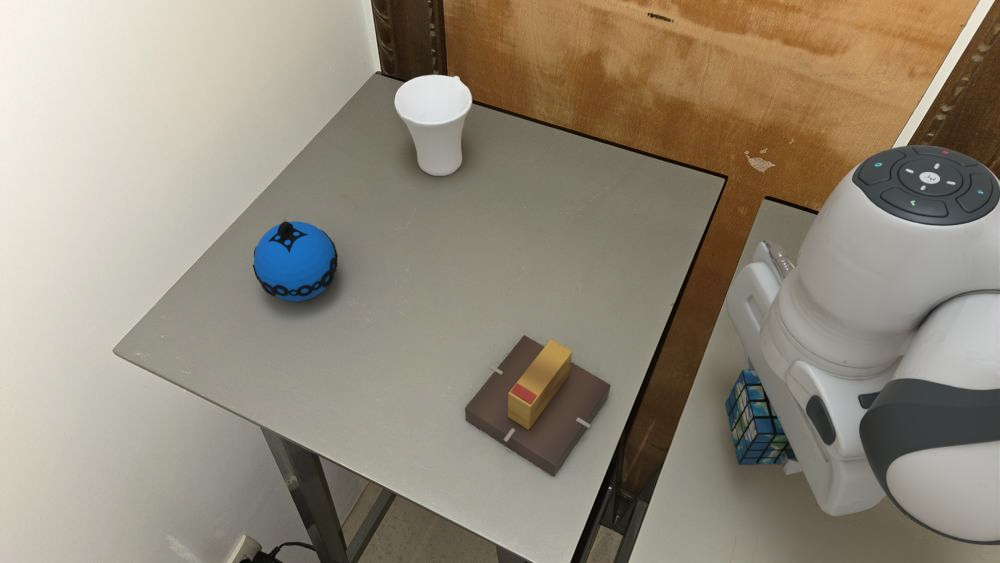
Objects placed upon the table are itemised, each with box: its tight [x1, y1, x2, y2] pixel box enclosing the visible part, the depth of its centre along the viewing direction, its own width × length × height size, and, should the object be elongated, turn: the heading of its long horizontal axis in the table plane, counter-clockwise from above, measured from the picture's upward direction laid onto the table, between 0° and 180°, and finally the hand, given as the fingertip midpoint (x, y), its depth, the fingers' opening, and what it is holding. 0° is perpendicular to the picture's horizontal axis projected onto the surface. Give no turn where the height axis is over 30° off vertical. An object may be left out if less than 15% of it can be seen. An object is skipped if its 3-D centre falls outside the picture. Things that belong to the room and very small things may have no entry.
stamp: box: [508, 338, 573, 430], centre depth 69 cm, size 7×2×5 cm, turn 145°
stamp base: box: [464, 334, 612, 477], centre depth 72 cm, size 11×11×3 cm
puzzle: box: [724, 369, 792, 466], centre depth 64 cm, size 6×6×6 cm
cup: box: [393, 74, 473, 177], centre depth 90 cm, size 9×9×10 cm
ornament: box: [252, 220, 339, 302], centre depth 78 cm, size 9×9×10 cm
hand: (771, 423), depth 65 cm, fingers closed on puzzle, 6 cm apart
